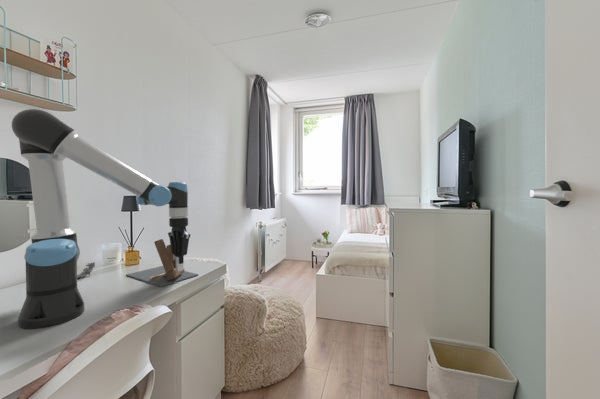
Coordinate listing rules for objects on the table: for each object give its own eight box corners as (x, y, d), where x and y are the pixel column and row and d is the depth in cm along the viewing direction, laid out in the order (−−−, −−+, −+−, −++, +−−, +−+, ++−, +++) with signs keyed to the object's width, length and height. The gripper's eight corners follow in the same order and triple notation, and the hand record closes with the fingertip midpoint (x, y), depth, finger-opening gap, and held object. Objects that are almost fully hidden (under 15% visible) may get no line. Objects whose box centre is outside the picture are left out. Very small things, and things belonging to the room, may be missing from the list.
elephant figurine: (67, 278, 121) (85, 266, 129) (78, 287, 122) (95, 274, 130) (75, 267, 117) (93, 255, 125) (86, 276, 118) (104, 264, 126)
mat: (161, 287, 110) (161, 285, 110) (126, 275, 125) (126, 274, 125) (198, 275, 126) (198, 274, 125) (163, 266, 140) (163, 265, 140)
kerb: (151, 281, 116) (151, 277, 116) (149, 280, 116) (149, 277, 116) (184, 271, 129) (184, 268, 129) (182, 271, 130) (182, 268, 130)
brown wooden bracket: (184, 271, 126) (171, 235, 125) (175, 278, 115) (160, 239, 115) (177, 274, 126) (163, 238, 125) (167, 281, 115) (152, 242, 114)
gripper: (195, 217, 118) (196, 270, 118) (177, 216, 124) (178, 266, 125) (179, 218, 111) (180, 275, 112) (162, 217, 118) (162, 270, 119)
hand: (179, 270), depth 118 cm, fingers closed
